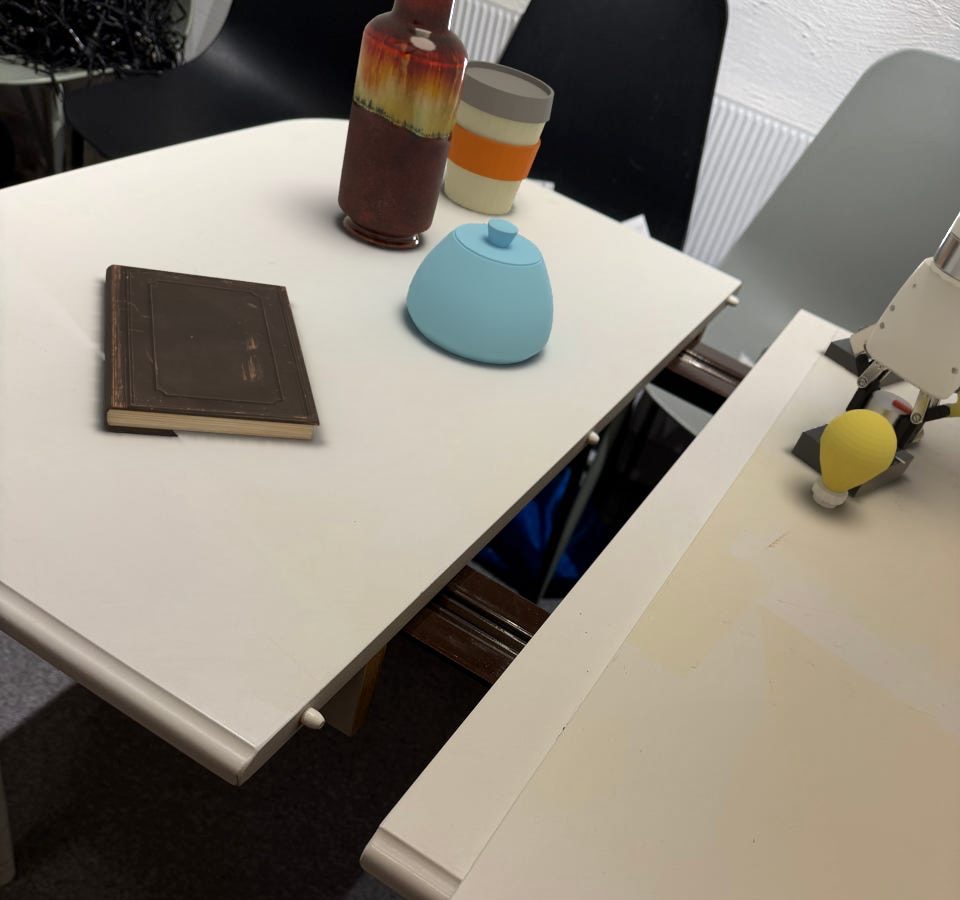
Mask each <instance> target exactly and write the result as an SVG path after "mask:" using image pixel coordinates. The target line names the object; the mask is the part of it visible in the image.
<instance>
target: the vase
mask: <svg viewBox="0 0 960 900" xmlns="http://www.w3.org/2000/svg"><path fill="white" fill-rule="evenodd" d="M456 1H457V0H394V3H393V7H392V9H391V11H386V12H384V13H381V14H377V15H376V16H375V17H374V18H372V19H371V20H370V21H369V22H368V23H367V24H366V25H365V27H364V30H363V32H362V39H361V45H360V50H359V51H360V52H359V55H358V56H359V57H358V62H357V68H356V74H355V75H356V76H355V81H354V87H353V95H352V101H351V106H350V113H349V119H348V125H347V126H348V127H347V133H346V140H345V145H344V153H343V158H342V166H341V173H340V177H339V187H338V194H337V195H338V196H337V204H338V206H339V208H340V210H341V211H343V213H344V214H345V215H346V216H345V217H344V218H343V220H342V226H343V228H344V229H345V231H346V232H347V233H349V235H351V236H352V237H354V238H356V239H357V240H359V241H361V242H364V243H366V244H368V245H371V246H374V247H379V248H382V249H387V250H396V251H401V250H404V251H405V250H410V249H414V248H416V247H417V246H419V243H420V237H419V235H420V234H421V233H422V234H423V233H424V232H426V231H428V230H429V229H430V228H431V226H432V225H433V222H434V217H435V213H436V210H437V207H438V206H437V205H438V201H439V196H440V192H441V188H442V183H443V179H444V175H445V172H446V167H447V158H448V153H449V149H450V144H451V140H452V135H453V131H454V126H455V122H456V117H457V113H458V108H459V104H460V100H461V95H462V91H463V86H464V81H465V76H466V71H467V67H468V60H469V54H468V52H467V49H466V46H465V44H464V42H463V41H462V39H461V38H460V37H459V36H458V34H457V33H455V31H454V30H453V29H452V21H453V17H454V10H455V5H456Z"/></svg>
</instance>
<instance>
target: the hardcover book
mask: <svg viewBox="0 0 960 900" xmlns="http://www.w3.org/2000/svg"><path fill="white" fill-rule="evenodd" d="M104 300H105V303H104V305H105V308H104V310H105V311H104V398H103V399H104V403H103V407H104V408H103V410H104V411H103V413H104V414H103V416H104V417H103V418H104V425H105V427H106V428H107V429H108V430H109V431H111V432H114V433H131V434H142V435H143V434H144V435H155V436H156V435H158V436H172V437H174V436H175V437H178V436H179V435H178V434H177V433H176V432H175V431H174V430H176V431H191V432H202V433H216V434H227V435H228V434H229V435H242V436H258V437H267V438H281V439H282V438H283V439H296V440H308V441H309V440H312V437H313V434H314V426H316V427H317V426H318V427H319V426H320V425H321V421H320V419H319V414H318V409H317V407H316V402H315V399H314V393H313V389H312V386H311V382H310V378H309V374H308V370H307V366H306V362H305V358H304V353H303V351H302V347H301V346H302V345H301V342H300V338H299V336H298V334H299V333H298V331H297V327H296V326H297V325H296V321H295V318H294V314H293V310H292V306H291V302H290V299H289V294H288V290H287V287H286V286H285V285H278V284H270V283H264V282H263V283H262V282H253V281H246V280H239V279H231V278H223V277H217V276H208V275H200V274H192V273H183V272H177V271H169V270H161V269H153V268H145V267H138V266H137V267H136V266H129V265H121V264H111V265H109V266H107V268H106V269H105V299H104Z"/></svg>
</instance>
